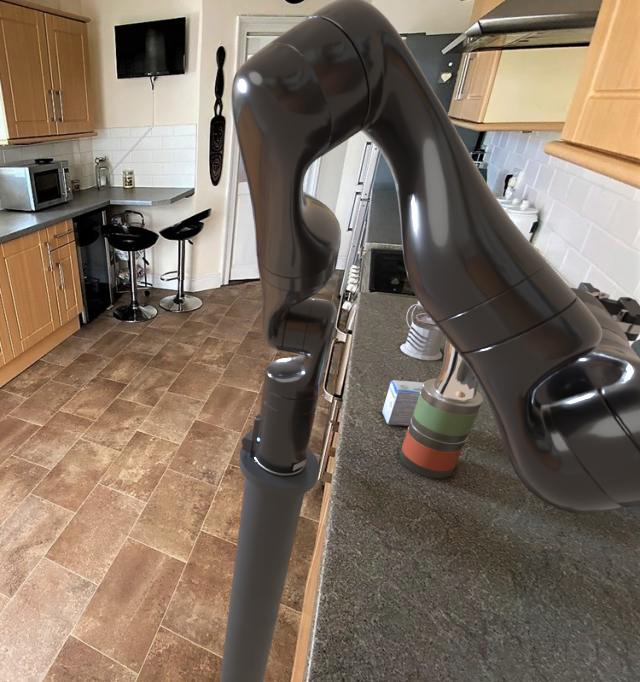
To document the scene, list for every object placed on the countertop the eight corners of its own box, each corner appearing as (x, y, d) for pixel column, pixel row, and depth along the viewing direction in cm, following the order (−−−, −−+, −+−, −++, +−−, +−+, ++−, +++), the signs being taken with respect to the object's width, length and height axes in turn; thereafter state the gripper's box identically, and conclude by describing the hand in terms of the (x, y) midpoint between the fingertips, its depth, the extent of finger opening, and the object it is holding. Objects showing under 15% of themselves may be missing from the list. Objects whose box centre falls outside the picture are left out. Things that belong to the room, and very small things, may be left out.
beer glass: (419, 385, 75) (446, 306, 68) (449, 377, 77) (478, 299, 70) (457, 407, 69) (491, 323, 62) (489, 398, 71) (525, 316, 64)
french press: (420, 362, 112) (451, 270, 100) (386, 342, 122) (410, 256, 110) (451, 357, 113) (485, 265, 102) (416, 337, 124) (442, 252, 112)
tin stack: (393, 463, 81) (417, 393, 73) (405, 440, 86) (428, 372, 79) (448, 486, 75) (479, 413, 68) (457, 460, 81) (487, 389, 73)
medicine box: (421, 416, 92) (433, 382, 88) (429, 429, 89) (442, 395, 85) (381, 412, 94) (391, 379, 90) (387, 425, 90) (397, 391, 86)
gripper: (699, 318, 34) (632, 262, 46) (478, 288, 41) (469, 246, 53) (649, 395, 38) (599, 325, 50) (453, 356, 45) (450, 302, 57)
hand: (532, 284), depth 51 cm, fingers open, 8 cm apart
